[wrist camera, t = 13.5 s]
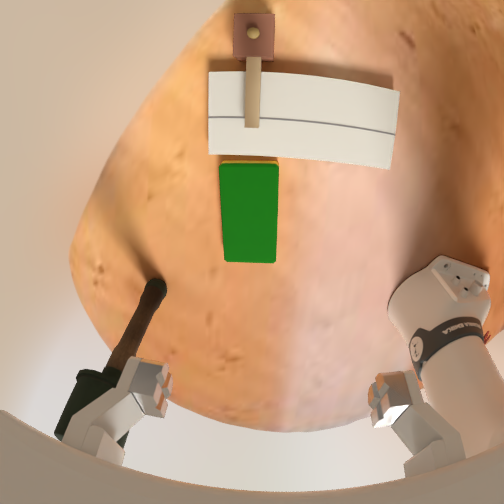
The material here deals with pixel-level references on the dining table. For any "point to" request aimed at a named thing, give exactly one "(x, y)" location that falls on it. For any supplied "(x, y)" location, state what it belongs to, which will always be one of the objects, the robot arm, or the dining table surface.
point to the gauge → (253, 56)
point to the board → (304, 119)
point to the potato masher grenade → (113, 359)
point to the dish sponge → (249, 210)
